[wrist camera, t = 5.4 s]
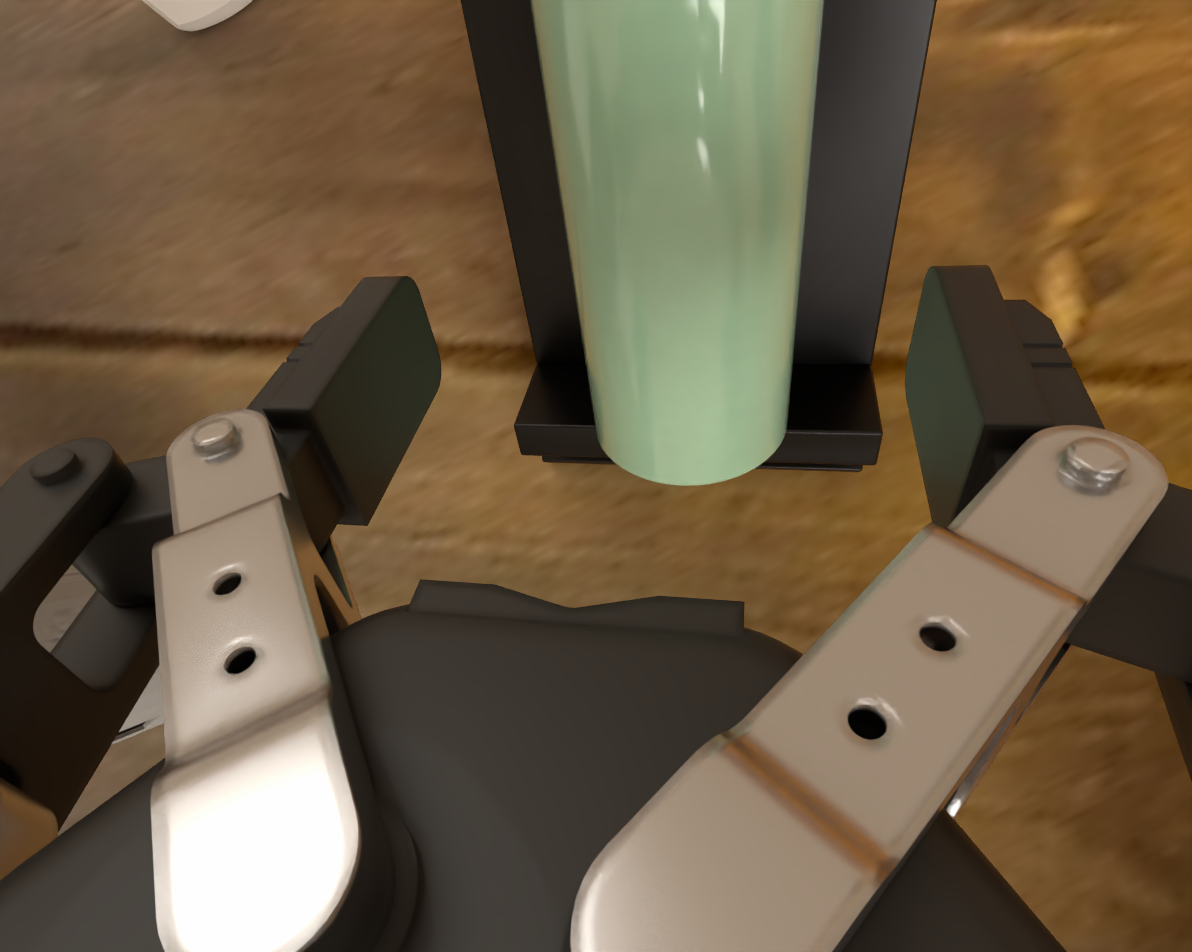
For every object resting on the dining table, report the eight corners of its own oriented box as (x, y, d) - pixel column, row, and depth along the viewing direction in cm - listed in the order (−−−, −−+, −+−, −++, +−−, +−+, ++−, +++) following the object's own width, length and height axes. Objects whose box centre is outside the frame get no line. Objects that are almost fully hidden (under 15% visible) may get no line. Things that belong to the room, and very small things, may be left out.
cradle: (858, 472, 23) (1029, 454, 9) (547, 462, 24) (312, 436, 11) (875, -42, 23) (1068, -806, 9) (564, -9, 25) (350, -600, 11)
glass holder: (126, 453, 28) (-567, 418, 13) (437, 627, 25) (12, 829, 11) (41, 654, 28) (-706, 836, 14) (337, 844, 26) (-195, 1319, 11)
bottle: (781, 488, 21) (859, 499, 7) (607, 482, 22) (368, 481, 8) (798, -4, 21) (909, -978, 7) (623, 12, 22) (414, -809, 8)
